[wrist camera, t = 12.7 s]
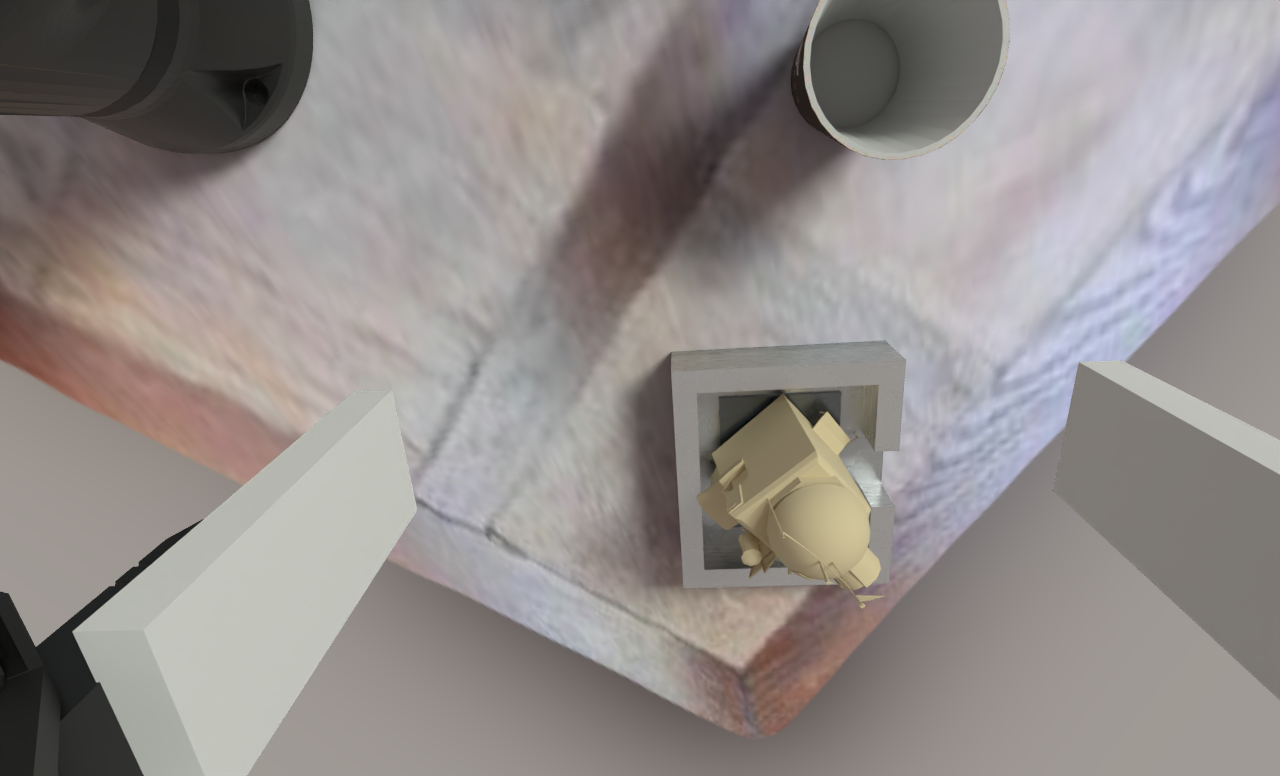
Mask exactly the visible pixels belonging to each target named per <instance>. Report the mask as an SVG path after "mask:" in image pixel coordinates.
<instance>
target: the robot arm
mask: <svg viewBox="0 0 1280 776" xmlns="http://www.w3.org/2000/svg"><path fill="white" fill-rule="evenodd" d="M312 52H313V25H312V16H311V10H310V4H309V0H0V115H36V116H76V117H82V118H84V119H87V120H89V121H91V122H94V123H96V124H98V125H101V126H103V127H105V128H107V129H110V130H112V131H114V132H117V133H119V134H121V135H124V136H126V137H128V138H131V139H133V140H135V141H138V142H140V143H143V144H146V145H148V146H152V147H155V148H159V149H163V150H168V151H173V152H181V153H223V152H231V151H235V150H240V149H243V148H246V147H249V146H251V145H254V144H256V143H258V142H260V141H262V140H263V139H265V138H266V137H268V136H269V135H271V134H272V133H273V132H274V131H276V130H277V129H278V128H279V127H280V126H281V125H282V124H283V123H284V122H285V121H286V119H287V118H288V117H289V116H290V114H291V113H292V112H293V110H294V109H295V107H296V105H297V104H298V102H299V100H300V98H301V96H302V93H303V91H304V88H305V86H306V83H307V79H308V76H309V72H310V67H311V61H312ZM1053 491H1054V492H1055V493H1056V494H1057V495H1058V496H1059V497H1060V498H1062V499H1063V500H1064V501H1065V502H1066V503H1067V504H1068V505H1069V506H1070V507H1071V508H1072V509H1073V510H1075V511H1076V512H1077V513H1078V514H1079V515H1080V516H1081V517H1082V518H1083V519H1084V520H1085V521H1086V522H1088V523H1089V524H1090V525H1091V526H1092V527H1093V528H1094V529H1095V530H1096V531H1097V532H1098V533H1099V534H1101V535H1102V536H1103V537H1104V538H1105V539H1106V540H1107V541H1108V542H1109V543H1110V544H1111V545H1112V546H1113V547H1115V548H1116V549H1117V550H1118V551H1119V552H1120V553H1121V554H1122V555H1123V556H1124V557H1126V559H1128V560H1129V561H1130V562H1131V563H1132V564H1133V565H1134V566H1135V567H1136V568H1137V569H1138V570H1139V571H1140V572H1142V573H1143V574H1144V575H1145V576H1146V577H1147V578H1148V579H1149V580H1150V581H1151V582H1152V583H1153V584H1155V585H1156V586H1157V587H1158V588H1159V589H1160V590H1161V591H1162V592H1163V593H1164V594H1165V595H1166V596H1168V597H1169V598H1170V599H1171V600H1172V601H1173V602H1174V603H1175V604H1176V605H1177V606H1178V607H1179V608H1180V609H1182V610H1183V611H1184V612H1185V613H1186V614H1187V615H1188V616H1189V617H1190V618H1191V619H1192V620H1193V621H1195V622H1196V623H1197V624H1198V625H1199V626H1200V627H1201V628H1202V629H1203V630H1205V632H1206V633H1208V634H1209V635H1210V636H1211V637H1212V638H1213V639H1214V640H1215V641H1216V642H1217V643H1218V644H1220V646H1222V647H1223V648H1224V649H1225V650H1226V651H1227V652H1228V653H1229V654H1230V655H1232V657H1233V658H1235V659H1236V660H1237V661H1238V662H1239V663H1240V664H1241V665H1242V666H1243V667H1244V668H1245V669H1246V670H1248V671H1249V672H1250V673H1251V674H1252V675H1253V676H1254V677H1255V678H1256V679H1257V680H1258V681H1259V682H1260V683H1262V684H1263V685H1264V686H1265V687H1266V688H1267V689H1268V690H1269V691H1270V692H1271V693H1272V694H1274V695H1275V696H1276V697H1277V698H1278V699H1279V700H1280V440H1278V439H1276V438H1274V437H1272V436H1270V435H1268V434H1266V433H1264V432H1262V431H1260V430H1258V429H1256V428H1254V427H1252V426H1250V425H1248V424H1246V423H1244V422H1242V421H1240V420H1238V419H1236V418H1235V417H1233V416H1230V415H1229V414H1227V413H1224V412H1223V411H1221V410H1218V409H1217V408H1215V407H1212V406H1211V405H1209V404H1207V403H1205V402H1203V401H1201V400H1199V399H1197V398H1194V397H1193V396H1191V395H1189V394H1187V393H1185V392H1183V391H1181V390H1179V389H1177V388H1175V387H1173V386H1171V385H1169V384H1167V383H1165V382H1163V381H1161V380H1159V379H1157V378H1155V377H1153V376H1151V375H1149V374H1147V373H1145V372H1143V371H1141V370H1139V369H1137V368H1135V367H1133V366H1131V365H1129V364H1127V363H1125V362H1123V361H1121V360H1120V361H1095V362H1079V364H1078V369H1077V374H1076V379H1075V384H1074V389H1073V394H1072V399H1071V404H1070V409H1069V414H1068V419H1067V424H1066V429H1065V434H1064V438H1063V444H1062V448H1061V453H1060V458H1059V463H1058V468H1057V473H1056V478H1055V483H1054V488H1053ZM416 511H417V507H416V503H415V498H414V493H413V488H412V483H411V479H410V474H409V469H408V464H407V460H406V455H405V450H404V445H403V440H402V436H401V431H400V426H399V421H398V417H397V412H396V407H395V402H394V397H393V393H392V390H377V391H354V392H353V393H352V394H350V395H349V396H348V397H347V398H346V399H345V400H343V401H342V402H341V403H340V404H339V405H337V406H336V407H335V408H334V409H333V410H332V411H330V412H329V413H328V414H327V415H326V416H325V417H323V418H322V419H321V420H320V421H319V422H318V423H316V424H315V425H314V426H313V427H312V428H310V429H309V430H308V431H307V432H306V433H305V434H303V435H302V436H301V437H300V438H299V439H298V440H296V441H295V442H294V443H293V444H292V445H291V446H289V447H288V448H287V449H286V450H285V451H284V452H282V453H281V454H280V455H279V456H278V457H276V458H275V459H274V460H273V461H272V462H271V463H269V464H268V465H267V466H266V467H265V468H264V469H262V470H261V471H260V472H259V473H258V474H257V475H255V476H254V477H253V478H252V479H251V480H250V481H248V482H247V483H246V484H245V485H244V486H242V487H241V488H240V489H239V490H238V491H237V492H235V493H234V494H233V495H232V496H231V497H230V498H228V499H227V500H226V501H225V502H224V503H223V504H221V505H220V506H219V507H218V508H217V509H216V510H214V511H213V512H212V513H211V514H210V515H209V516H207V517H206V518H205V519H203V520H201V521H199V522H197V523H195V524H193V525H192V526H190V527H188V528H186V529H184V530H182V531H181V532H179V533H177V534H175V535H173V536H171V537H170V538H168V539H166V540H165V541H164V542H162V543H161V544H160V545H159V546H158V547H156V548H155V549H154V550H153V551H152V552H150V553H149V554H148V555H147V556H146V557H144V558H143V559H142V560H141V561H140V562H139V566H138V567H132V568H131V569H130V570H129V571H127V572H126V573H125V574H124V575H123V576H122V577H120V578H119V579H118V580H117V581H116V584H115V586H109V587H108V588H107V589H106V590H105V591H103V592H102V593H101V594H100V595H99V596H97V597H96V598H95V599H94V600H92V601H91V602H90V603H89V604H88V605H86V606H85V607H84V608H83V609H82V610H80V611H79V612H78V613H77V614H76V615H74V616H73V617H72V618H71V619H69V620H68V621H67V622H66V623H65V624H63V625H62V626H61V627H60V628H59V629H57V630H56V631H55V632H54V633H53V634H51V635H50V636H49V637H48V638H47V639H45V640H44V641H43V642H42V643H41V644H39V645H38V646H37V647H35V645H34V643H33V641H32V639H31V637H30V635H29V633H28V631H27V630H26V627H25V625H24V623H23V621H22V619H21V618H20V616H19V613H18V611H17V609H16V607H15V605H14V603H13V601H12V600H11V597H10V595H9V594H8V593H3V592H0V776H247V775H248V773H249V772H250V770H251V768H252V767H253V765H254V764H255V762H256V760H257V759H258V758H259V756H260V754H261V753H262V751H263V750H264V748H265V747H266V745H267V743H268V742H269V740H270V739H271V737H272V736H273V734H274V732H275V731H276V729H277V728H278V726H279V725H280V723H281V722H282V720H283V718H284V717H285V715H286V714H287V712H288V711H289V709H290V708H291V706H292V705H293V703H294V701H295V700H296V698H297V696H298V695H299V694H300V692H301V690H302V689H303V687H304V686H305V684H306V683H307V681H308V680H309V678H310V676H311V675H312V673H313V672H314V670H315V669H316V667H317V666H318V664H319V662H320V661H321V659H322V658H323V656H324V655H325V653H326V652H327V650H328V648H329V647H330V645H331V644H332V642H333V641H334V639H335V638H336V636H337V634H338V633H339V631H340V630H341V628H342V627H343V625H344V623H345V622H346V620H347V619H348V617H349V616H350V614H351V613H352V611H353V609H354V608H355V606H356V605H357V603H358V602H359V600H360V598H361V597H362V595H363V594H364V592H365V590H366V589H367V588H368V586H369V584H370V583H371V581H372V580H373V578H374V577H375V575H376V574H377V572H378V571H379V569H380V567H381V565H382V564H383V563H384V561H385V560H386V558H387V556H388V555H389V553H390V552H391V550H392V549H393V547H394V546H395V544H396V542H397V541H398V539H399V538H400V536H401V535H402V533H403V532H404V530H405V528H406V527H407V525H408V524H409V522H410V521H411V519H412V518H413V516H414V514H415V513H416Z"/></svg>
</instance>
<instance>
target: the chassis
mask: <svg viewBox="0 0 1280 776" xmlns="http://www.w3.org/2000/svg"><path fill="white" fill-rule="evenodd" d="M905 365H906V359H904V358H903V357H902V356H901V355H900V354H899V353H898V352H897V351H896V350H895V349H894V348H893V347H892V346H891V345H889V344H888V343H887V342H886V341H872V342H853V343H834V344H815V345H796V346H777V347H758V348H739V349H720V350H701V351H682V352H671V378H672V396H673V413H674V431H675V449H676V467H677V484H678V502H679V520H680V537H681V555H682V573H683V589H686V588H723V587H759V586H796V585H827V584H825V580H816V579H814V580H809V579H805V578H803V577H800V576H798V575H796V574H794V573H793V572H792V571H791V574H788V568H787V567H786V566H785V565H784V564H783V563H782V562H781V561H780V560H779V558H778V557H777V558H776V560H775V561H774V562H773V564H772V565H771V566H770V568H769V569H768V570H767V572H766V573H764V571H763V569H762V570H760V571H759V572H758V573H757V574H755V575H754V576H753V577H752V578H750V579H749V574H750V570H751V569H752V568H753V567H754V566H755V565H754V566H748V565H746V564H744V563H743V561H742V558H741V557H742V555H743V551H742V548H741V546H740V542H739V540H738V538H739V537H740V535H741V534H742V535H745V534H746V531H745V530H744V529H743V526H742V525H741V524H740V523H739V524H737V525H736V526H734V527H732V528H731V529H729V530H726V529H723V528H722V527H721V526H720V525H719V524H718V523H717V522H715V521H714V520H713V519H712V518H711V517H710V516H709V515H708V514H707V512H706V511H705V510H704V509H703V508H702V507H701V506H700V504H699V502H698V500H697V497H698V496H699V495H700V494H701V493H702V492H703V491H705V490H706V489H707V488H708V487H710V486H711V479H710V477H711V475H712V474H713V472H714V470H715V469H716V467H717V466H716V464H715V461H714V458H713V456H712V453H713V452H715V451H716V450H717V449H718V448H719V447H720V446H722V445H723V444H724V443H725V442H726V441H728V440H729V439H730V438H731V437H732V436H733V435H735V434H736V433H737V432H738V431H739V430H740V429H742V428H743V427H744V426H745V425H746V424H748V423H749V422H750V421H751V420H752V419H753V418H755V417H756V416H757V415H758V414H759V413H760V412H762V411H763V410H764V409H765V408H766V407H768V406H769V405H770V404H771V403H772V402H773V401H775V400H776V399H777V398H778V397H779V396H781V395H782V394H784V395H785V396H786V397H787V398H788V400H789V401H790V402H791V403H792V404H793V405H794V406H795V407H796V408H797V409H798V410H799V411H800V412H801V413H802V414H803V415H804V417H805V418H806V419H807V420H808V421H809V422H810V423H811V424H812V425H813V426H815V424H816V423H817V422H818V420H819V419H820V418H821V417H822V416H823V415H824V414H823V413H820V411H821V412H826V411H827V412H828V413H829V414H830V415H831V417H832V418H833V419H834V420H835V422H836V423H837V424H838V425H839V426H840V428H841V429H842V430H843V431H844V432H845V434H846V435H847V436H848V437H849V439H850V442H851V440H853V439H855V438H857V437H856V436H858V437H859V439H858V438H857V439H855V440H854V441H852V442H851V443H850V442H848V443H849V444H848V443H847V444H848V445H847V444H846V445H847V446H846V445H845V446H846V447H845V446H844V447H845V448H844V449H843V450H842V451H841V452H840V454H839V457H840V459H841V460H842V462H843V464H844V465H845V467H846V468H847V470H848V472H849V473H850V475H851V477H852V478H853V480H854V481H855V483H856V485H857V486H858V488H859V490H860V491H861V493H862V494H863V496H864V498H865V499H866V501H867V503H868V504H869V506H870V507H871V510H870V515H869V518H868V519H869V524H870V540H869V544H868V548H869V549H870V551H871V552H872V553H873V554H874V555H875V556H876V557H877V558H878V559H879V562H880V567H881V570H880V572H879V575H878V577H877V579H876V580H875V581H874V582H873V583H889V578H890V564H891V551H892V538H893V524H894V511H895V506H894V504H893V502H892V501H891V499H890V497H889V496H888V494H887V492H886V491H885V489H884V487H883V486H882V484H881V478H882V463H883V451H899V445H900V431H901V418H902V405H903V392H904V378H905ZM855 435H856V436H855ZM755 537H756V536H755ZM829 581H830V582H833V584H837V583H836V582H835V581H834V580H833V579H829ZM829 585H832V584H829Z"/></svg>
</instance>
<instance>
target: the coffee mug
mask: <svg viewBox="0 0 1280 776" xmlns="http://www.w3.org/2000/svg"><path fill="white" fill-rule="evenodd" d="M1009 42H1010V19H1009V14H1008V9H1007V4H1006V0H820V1H819V3H818V6H817V8H816V10H815V13H814V15H813V17H812V19H811V22H810V24H809V26H808V29H807V31H806V33H805V36H804V38H803V40H802V43H801V45H800V47H799V50H798V52H797V54H796V57H795V59H794V63H793V67H792V74H791V88H792V95H793V98H794V101H795V104H796V107H797V108H798V110H799V112H800V114H801V115H802V116H803V117H804V119H805V120H806V121H807V122H808V123H809V124H810V125H812V126H813V127H815V128H816V129H817V130H819V131H821V132H822V133H824V134H825V135H827V136H829V137H830V138H832V139H834V140H835V141H837V142H838V143H840V144H842V145H843V146H845V147H846V148H848V149H850V150H853V151H855V152H857V153H859V154H862V155H864V156H868V157H873V158H877V159H882V160H899V159H907V158H911V157H916V156H921V155H924V154H926V153H928V152H931V151H933V150H936V149H938V148H940V147H942V146H943V145H945V144H946V143H948V142H950V141H951V140H953V139H954V138H956V137H957V136H959V135H960V134H961V133H962V132H963V131H964V130H965V129H966V128H967V127H968V126H970V125H971V124H972V123H973V122H974V121H975V119H976V118H977V117H978V116H979V114H980V113H981V112H982V111H983V109H984V108H985V107H986V106H987V104H988V102H989V101H990V99H991V97H992V95H993V93H994V92H995V90H996V88H997V86H998V84H999V81H1000V79H1001V76H1002V73H1003V70H1004V67H1005V64H1006V60H1007V54H1008V48H1009Z"/></svg>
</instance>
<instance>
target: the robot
mask: <svg viewBox="0 0 1280 776" xmlns="http://www.w3.org/2000/svg"><path fill="white" fill-rule="evenodd" d="M820 413H823V414H824V415H823V416H822V417H821V418H820V419H819V420H818V422H817V423H816V424H815V426H813V425H812V424H811V423H810V422H809V421H808V420H807V419H806V418H805V417H804V415H803V414H802V413H801V412H800V411H799V410H798V409H797V408H796V407H795V406H794V405H793V404H792V403H791V402H790V401H789V400H788V398H787V397H786V396H785V395H784V394H782V395H781V396H779V397H778V398H777V399H776V400H775V401H773V402H772V403H771V404H770V405H769V406H768V407H766V408H765V409H764V410H763V411H762V412H760V413H759V414H758V415H757V416H756V417H755V418H753V419H752V420H751V421H750V422H749V423H748V424H746V425H745V426H744V427H743V428H742V429H740V430H739V431H738V432H737V433H736V434H735V435H733V436H732V437H731V438H730V439H729V440H728V441H726V442H725V443H724V444H723V445H722V446H720V447H719V448H718V449H717V450H716V451H715V452H713V453H712V456H713V458H714V461H715V464H716V466H717V467H716V469H715V470H714V472H713V474H712V475H711V477H710V479H711V486H710V487H708V488H707V489H706V490H705V491H703V492H702V493H701V494H700V495H699V496H698V497H697V500H698V502H699V504H700V506H701V507H702V508H703V509H704V510H705V511H706V512H707V514H708V515H709V516H710V517H711V518H712V519H713V520H714V521H715V522H717V523H718V524H719V525H720V526H721V527H722V528H723V529H726V530H729V529H731V528H732V527H734V526H736V525H737V524H739V523H740V524H741V525H742V526H743V529H744V530H745V531H746V534H745V535H742V534H741V535H740V537H739V538H738V540H739V542H740V546H741V548H742V551H743V555H742V557H741V558H742V561H743V563H744V564H746V565H748V566H754V565H755V566H754V567H753V568H752V569H751V570H750V574H749V579H750V578H752V577H753V576H754V575H755V574H757V573H758V572H759V571H760V570H762V569H763V571H764V573H766V572H767V570H768V569H769V568H770V566H771V565H772V564H773V562H774V561H775V560H776V558H777V557H778V558H779V560H780V561H781V562H782V563H783V564H784V565H785V566H786V567H787V568H788V574H791V571H792V572H793V573H794V574H796V575H798V576H800V577H803V578H805V579H809V580H814V579H816V580H825V584H827V585H829V584H833V582H830V581H829V579H833V580H834V581H835V582H836V583H837V584H838V585H839V586H840V587H841V588H843V587H844V588H845V589H848V590H851V592H852V594H853V595H854V596H855V594H854V593H853V591H852V590H855V589H859V588H861V587H862V586H864V585H865V587H866V588H867V587H868V586H869V585H870V584H872V583H873V582H874V581H875V580H876V579H877V577H878V575H879V572H880V570H881V567H880V562H879V559H878V558H877V557H876V556H875V555H874V554H873V553H872V552H871V551H870V549H869V548H868V544H869V540H870V524H869V519H868V518H869V515H870V510H871V507H870V506H869V504H868V503H867V501H866V499H865V498H864V496H863V494H862V493H861V491H860V490H859V488H858V486H857V485H856V483H855V481H854V480H853V478H852V477H851V475H850V473H849V472H848V470H847V468H846V467H845V465H844V464H843V462H842V460H841V459H840V457H839V454H840V452H841V451H842V450H843V449H844V448H845V447H846V446H847V445H848V444H849V443H848V442H850V439H849V437H848V436H847V435H846V434H845V432H844V431H843V430H842V429H841V428H840V426H839V425H838V424H837V423H836V422H835V420H834V419H833V418H832V417H831V415H830V414H829V413H828V412H827V411H826V412H821V411H820ZM855 436H856V435H855ZM856 437H857V438H858V439H859V437H858V436H856ZM857 438H855V439H857ZM855 439H853V440H851V442H852V441H854V440H855ZM851 442H850V443H851ZM847 443H848V444H847ZM846 444H847V445H846ZM845 445H846V446H845ZM844 446H845V447H844ZM755 536H756V537H755ZM842 586H843V587H842ZM880 597H884V596H860V595H856V596H855V598H856V599H857V598H858V599H859V600H858V599H857V601H858V602H859V601H860V602H861V601H869V600H873V599H877V598H880ZM860 602H859V606H860V607H861V608H864V607H865V605H864V604H863V603H860Z"/></svg>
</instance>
